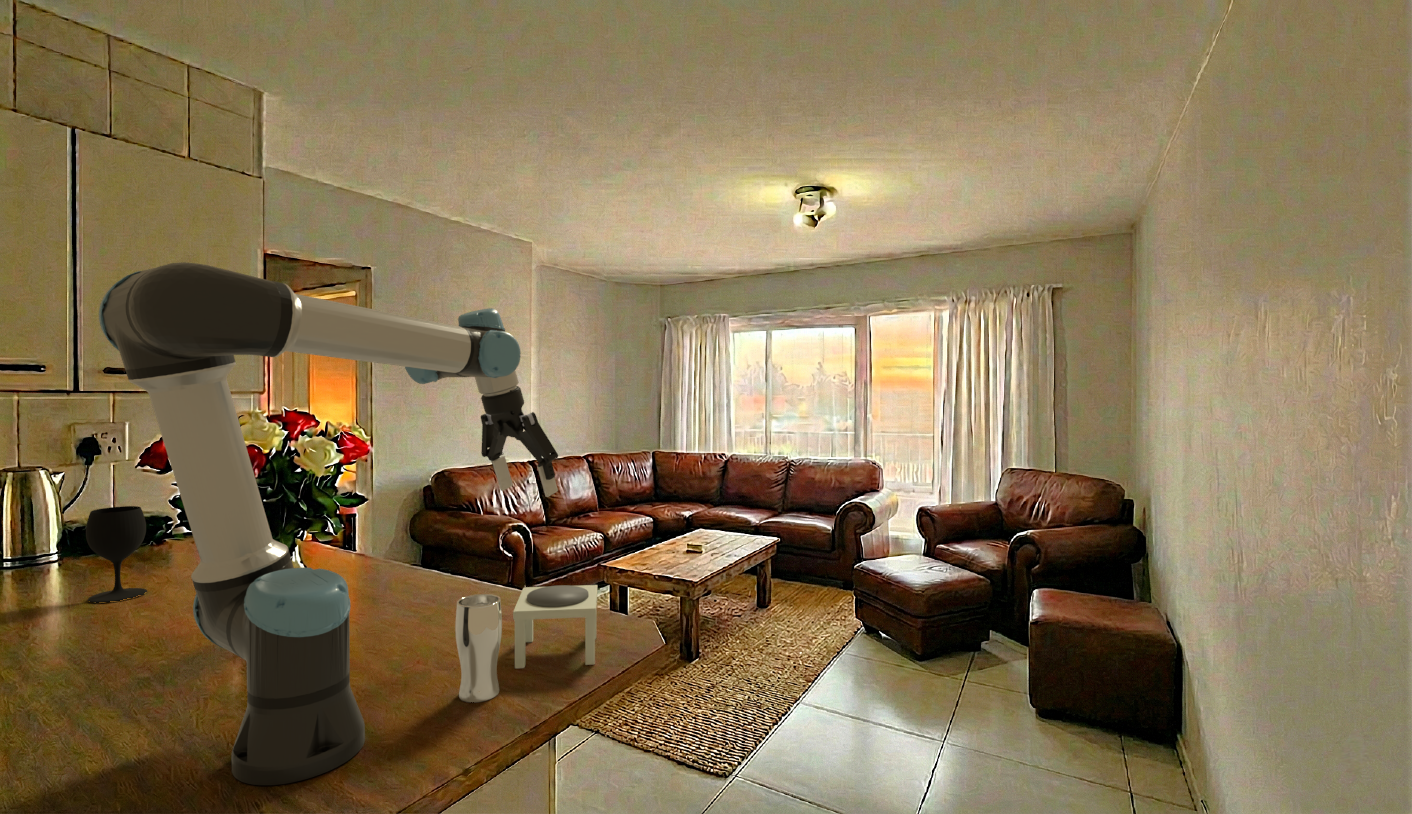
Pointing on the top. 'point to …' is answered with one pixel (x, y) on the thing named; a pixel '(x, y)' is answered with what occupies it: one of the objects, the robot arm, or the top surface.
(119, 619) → the top surface
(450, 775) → the top surface
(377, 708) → the top surface
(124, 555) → the wine glass
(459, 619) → the beer glass
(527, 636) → the stool
